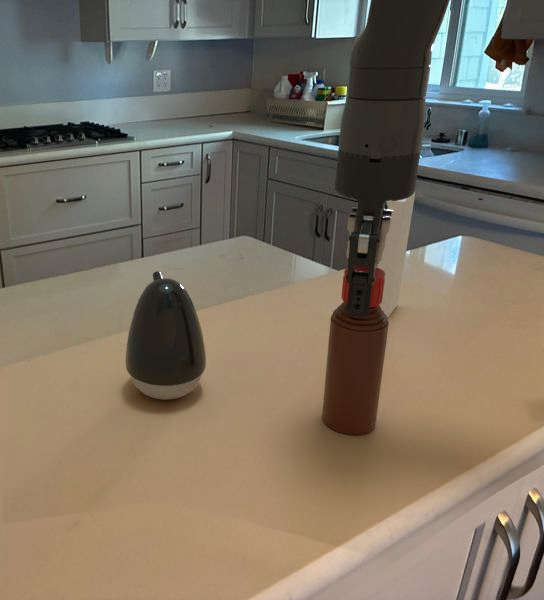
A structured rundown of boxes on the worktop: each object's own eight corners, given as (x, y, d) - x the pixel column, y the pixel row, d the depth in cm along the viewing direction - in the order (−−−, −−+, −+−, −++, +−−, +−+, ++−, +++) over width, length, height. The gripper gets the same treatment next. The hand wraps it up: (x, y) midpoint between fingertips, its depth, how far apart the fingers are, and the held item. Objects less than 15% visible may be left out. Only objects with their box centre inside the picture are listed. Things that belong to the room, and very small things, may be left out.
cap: (343, 291, 69) (346, 263, 67) (383, 295, 67) (386, 267, 66) (339, 305, 65) (342, 276, 64) (380, 310, 64) (384, 280, 62)
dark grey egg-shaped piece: (194, 364, 85) (195, 261, 79) (214, 405, 76) (217, 292, 69) (121, 372, 84) (116, 267, 77) (133, 415, 74) (128, 300, 68)
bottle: (377, 410, 74) (395, 270, 66) (373, 439, 69) (393, 290, 61) (325, 401, 76) (338, 264, 69) (318, 428, 71) (330, 283, 64)
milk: (361, 298, 104) (377, 168, 96) (398, 305, 101) (419, 171, 92) (349, 310, 100) (365, 175, 91) (388, 319, 97) (408, 179, 88)
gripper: (347, 133, 67) (332, 279, 74) (328, 157, 55) (313, 329, 62) (422, 135, 64) (399, 287, 71) (419, 161, 52) (392, 341, 59)
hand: (359, 305), depth 66 cm, fingers closed on cap, 4 cm apart
